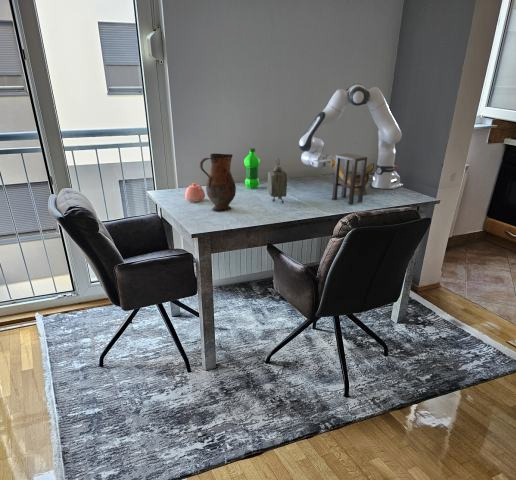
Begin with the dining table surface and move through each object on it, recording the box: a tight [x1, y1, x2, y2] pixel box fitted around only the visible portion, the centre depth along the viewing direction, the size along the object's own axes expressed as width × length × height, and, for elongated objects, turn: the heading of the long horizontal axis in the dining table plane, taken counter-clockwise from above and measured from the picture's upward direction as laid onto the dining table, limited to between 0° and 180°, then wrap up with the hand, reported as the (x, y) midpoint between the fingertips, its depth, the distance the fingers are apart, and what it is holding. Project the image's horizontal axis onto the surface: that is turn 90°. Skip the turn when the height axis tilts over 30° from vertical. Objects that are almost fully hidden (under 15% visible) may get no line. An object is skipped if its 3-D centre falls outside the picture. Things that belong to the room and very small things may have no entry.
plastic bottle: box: [243, 147, 261, 190], centre depth 313 cm, size 10×10×25 cm
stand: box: [332, 152, 368, 205], centre depth 284 cm, size 10×16×26 cm, turn 37°
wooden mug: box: [354, 162, 375, 196], centre depth 303 cm, size 9×14×18 cm, turn 115°
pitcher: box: [199, 153, 237, 212], centre depth 264 cm, size 17×21×30 cm
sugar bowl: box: [184, 182, 206, 203], centre depth 287 cm, size 12×14×10 cm
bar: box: [329, 159, 351, 183], centre depth 301 cm, size 3×24×3 cm, turn 37°
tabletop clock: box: [267, 157, 288, 204], centre depth 282 cm, size 14×9×25 cm, turn 9°
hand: (334, 164), depth 303 cm, fingers closed on bar, 3 cm apart
